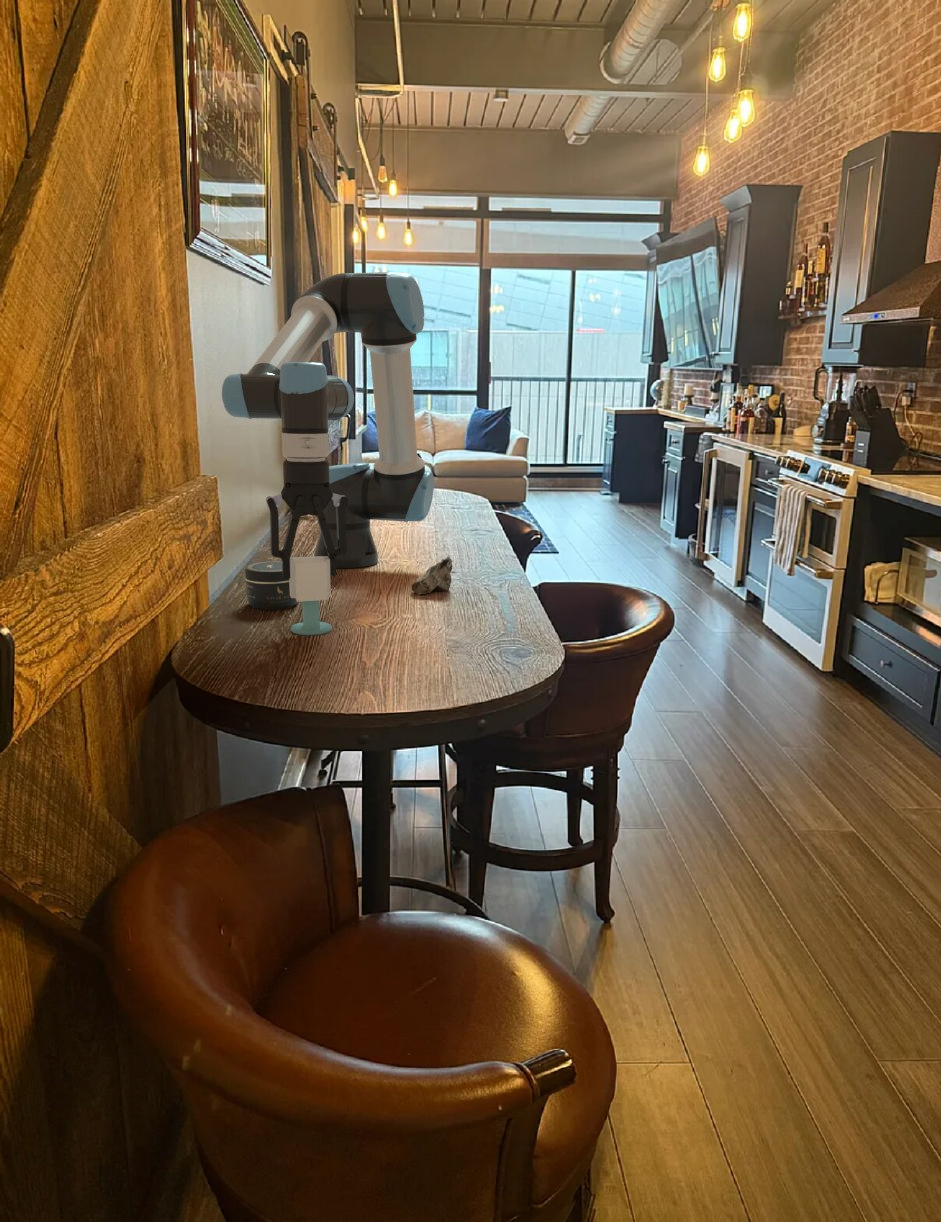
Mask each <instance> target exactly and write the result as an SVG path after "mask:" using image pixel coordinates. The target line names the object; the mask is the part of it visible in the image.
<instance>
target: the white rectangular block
mask: <svg viewBox="0 0 941 1222" xmlns="http://www.w3.org/2000/svg"><path fill="white" fill-rule="evenodd" d="M291 558H293V559H294V560H295V587H296V598H295V599H296V601H297V603H299V602H300V603H302V601H318V600H319V601H328V600H329V596H328V590H327V562H326V560H325V559H324V558H323V556H314V555H313V556H296V557H295V556H294V557H291Z"/></svg>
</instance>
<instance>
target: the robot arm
mask: <svg viewBox="0 0 941 1222" xmlns="http://www.w3.org/2000/svg"><path fill="white" fill-rule="evenodd" d="M290 312H291V313H290V315H291V316H290V317H289V318H288V320H287V321H286V323H285V324H284V325H283V326H282V328H281V329H280V330H279V332H278V333H277V334H276V336H275V337H274V338H273V340H272V341H271V342H270V343H269V345H268V346H267V347H266V349H265V350H264V351H263V352H262V354H261V355H260V356H259V358H258V359H257V360H256V362H255V363H254V364H253V366H252V367H251V368H250V369H249V371H248V372H247V373H242V372H239V373H237V374H236V373H235V374H234V373H233V374H230V375H227V376H226V378H224V380H223V383H222V386H221V399H222V402H223V407H224V408H225V411H226V412H227V413H228V414H229V415H230V416H232V417H234V418H235V417H236V418H243V419H249V420H252V419H269V420H270V419H271V420H272V419H273V420H276V419H278V420H281V444H282V446H281V447H282V456H283V458H286V459H285V460H284V461H283V462H282V471H283V472H282V473H283V475H282V476H283V486H282V489H281V493H279V494H277V495H274V496H271V495H270V496H267V497H266V499H265V501H266V504H267V507H268V509H269V526H270V527H269V530H270V531H269V533H270V535H269V537H270V538H269V539H270V541H269V542H270V544H269V546H270V553H271V556H272V557H274V558H279V559H280V560H281V562H282V573H283V576H284V578H289V585H290V596H291V598H296V587H295V560H294V559H293V558H292V557H291V554H292V550H293V548H294V542H295V538H296V533H297V529H298V526H299V523H300V519H301V517H305V516H312V517H315V518H316V520H317V523H318V527H319V530H320V532H319V535H318V539H317V541H316V544H315V548H314V551H313V557H314V556H323V558H324V559H325V560H326V562H327V590H328V597H332V589H331V587H332V586H331V577H336V575H337V569H353V568H355V569H356V568H364V567H369V566H373V565H375V564H378V562H379V551H378V549H377V547H376V544H375V541H374V537H373V534H372V532H371V520H374V521H390V522H391V521H392V522H403V523H404V522H405V523H408V522H422V521H424V520H425V519H426V518H427V516H428V515H429V512H430V509H431V506H432V501H433V498H434V489H435V476H434V474H433V472H432V471H429V470H426V466H425V464H426V463H425V461H424V460H423V458H421V457H420V456H419V455H418V447H417V433H416V430H417V429H416V417H415V402H414V386H413V372H412V357H411V349H412V346H414V344H415V343H416V342H417V339H418V336H417V335H418V334H419V333H421V332H422V331H423V330H424V326H425V307H424V300H423V296H422V292H421V289H420V286H419V283H418V282H417V280H416V279H415V278H414V277H413V276H412V275H411V274H409V273H403V272H402V273H401V272H394V271H383V272H382V271H381V272H354V273H353V272H351V273H350V272H342V273H337V274H332V275H330V276H328V277H325V278H324V279H321V280H319V281H318V282H316V283H315V284H313V285H311V286H310V287H309V288H308V289H306V290H305V291H303V293H302V294H301V295H300V296H299V297H298V298H297V299H296V301H295V302H294V303H293V305H292V308H291V311H290ZM338 333H359V334H360V338H361V344H362V345H363V346H364V347H365V348H366V349H368V351H369V357H370V367H371V379H372V389H373V401H374V402H373V403H374V412H375V423H376V433H377V445H378V455H379V457H378V459H377V460H376V461H375V462H374V464H373V469H371V465H370V463H369V462H353V463H352V462H351V463H344V464H337V465H330V462H329V461H328V460H327V459H326V458H328V457H329V455H330V451H329V421H338V420H340V419H342V418H345V417H346V416H347V415H349V413H350V412H351V411H352V409H353V407H354V403H355V395H354V391H353V388H352V387H351V385H350V383H349V382H348V381H347V380H345V378H342V377H339V376H336V375H334V374H332V375H329V374H328V372H327V366H326V365H325V364H324V363H321V362H310V360H311V359H312V358H313V356H314V354H315V353H316V352H317V350H318V349H319V347H320V346H321V345H322V343H323V342H325V341H328V340H330V339H331V338H332V337H333V336H334V335H335V334H338ZM283 501H284V503H285V504H286V505H287V507H288V508H290V510H291V511H290V515H289V519H288V520H289V521H288V525H287V529H286V533H285V538H284V542H283V546H282V549H280V527H279V522H280V521H279V509H281V507H282V502H283Z"/></svg>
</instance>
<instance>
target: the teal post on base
mask: <svg viewBox="0 0 941 1222" xmlns="http://www.w3.org/2000/svg"><path fill="white" fill-rule="evenodd" d="M301 603H302V607H301V608H302V622H297V623H295V624H292V625H291V626H290V631H291V632H292V634H294V635H299V636H320V635H326V634H327V633H330V632H332V630H333V626H332V624H330V623H328V622H325V621H321V620H320V619H321V618H320V600H318V601H301Z"/></svg>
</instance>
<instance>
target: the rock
mask: <svg viewBox="0 0 941 1222" xmlns="http://www.w3.org/2000/svg"><path fill="white" fill-rule="evenodd" d="M453 562H454V561H453V560H452V559H451V557H450V555H447V557H446V558H444V559H443V558H442V559H441V561H439V562H438V563H436V564H433V565H432V566H431V567H429V568H428V569H427V570H426V572H425V573H424V574H423V575H422V576H420V577H419V578H417V579H416V580H415V581H414V582H413V583H412V584H411V586H410V587H411V590H412V591H413V593H415V594H416V595H417V596H420V595H426V594H428V593H431V592H432V591H437V592H438V591H439V592H448V591H449V590H450V587H451V584H452V576H451V575H452V574H451V572H452V570H453Z"/></svg>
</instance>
